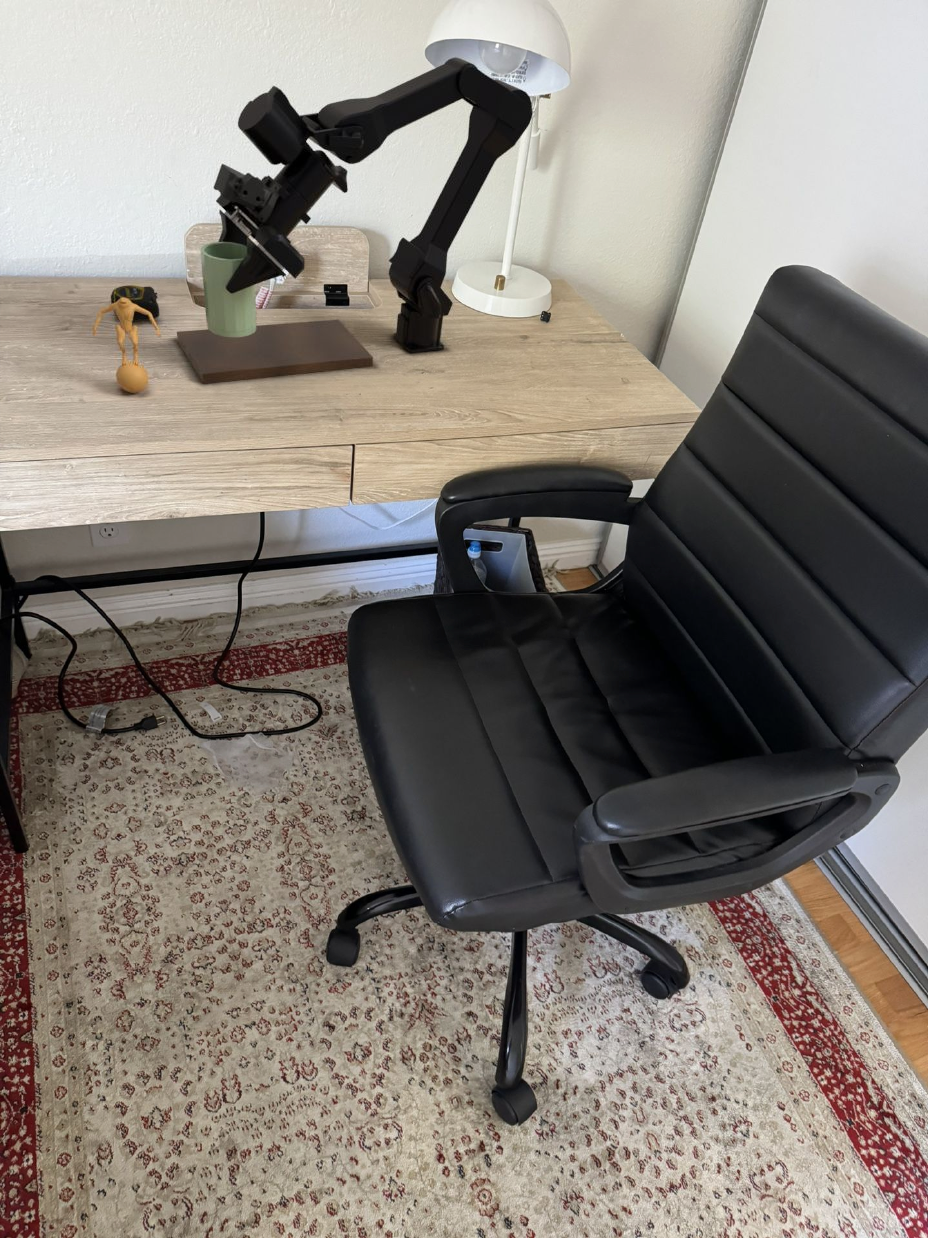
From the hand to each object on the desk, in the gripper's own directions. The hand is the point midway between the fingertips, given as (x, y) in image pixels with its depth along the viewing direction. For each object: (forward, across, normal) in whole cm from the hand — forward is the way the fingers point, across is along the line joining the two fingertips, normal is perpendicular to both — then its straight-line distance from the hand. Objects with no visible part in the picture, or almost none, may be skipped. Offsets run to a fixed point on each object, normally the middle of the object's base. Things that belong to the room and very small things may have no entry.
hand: (219, 280), depth 109 cm
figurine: (+18, +3, -1) cm, 19 cm away
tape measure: (+14, -20, +4) cm, 24 cm away
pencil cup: (+4, 0, +6) cm, 7 cm away
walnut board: (+3, -2, +15) cm, 15 cm away
